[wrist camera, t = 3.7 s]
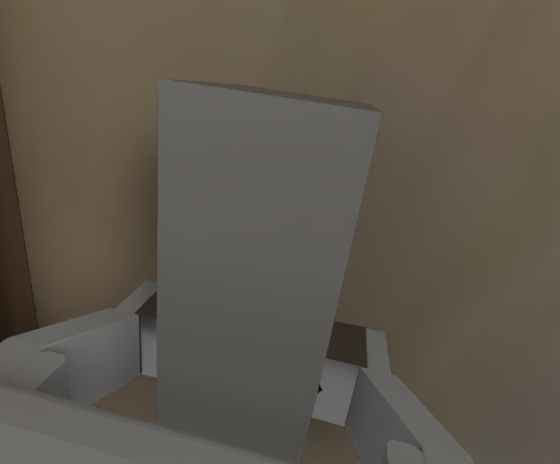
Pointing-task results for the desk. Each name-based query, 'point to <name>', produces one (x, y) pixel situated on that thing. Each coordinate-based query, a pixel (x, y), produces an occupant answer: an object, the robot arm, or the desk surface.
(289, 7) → the desk surface
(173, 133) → the grey rectangular block
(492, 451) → the desk surface
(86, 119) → the desk surface
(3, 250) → the footed brown board
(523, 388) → the desk surface
